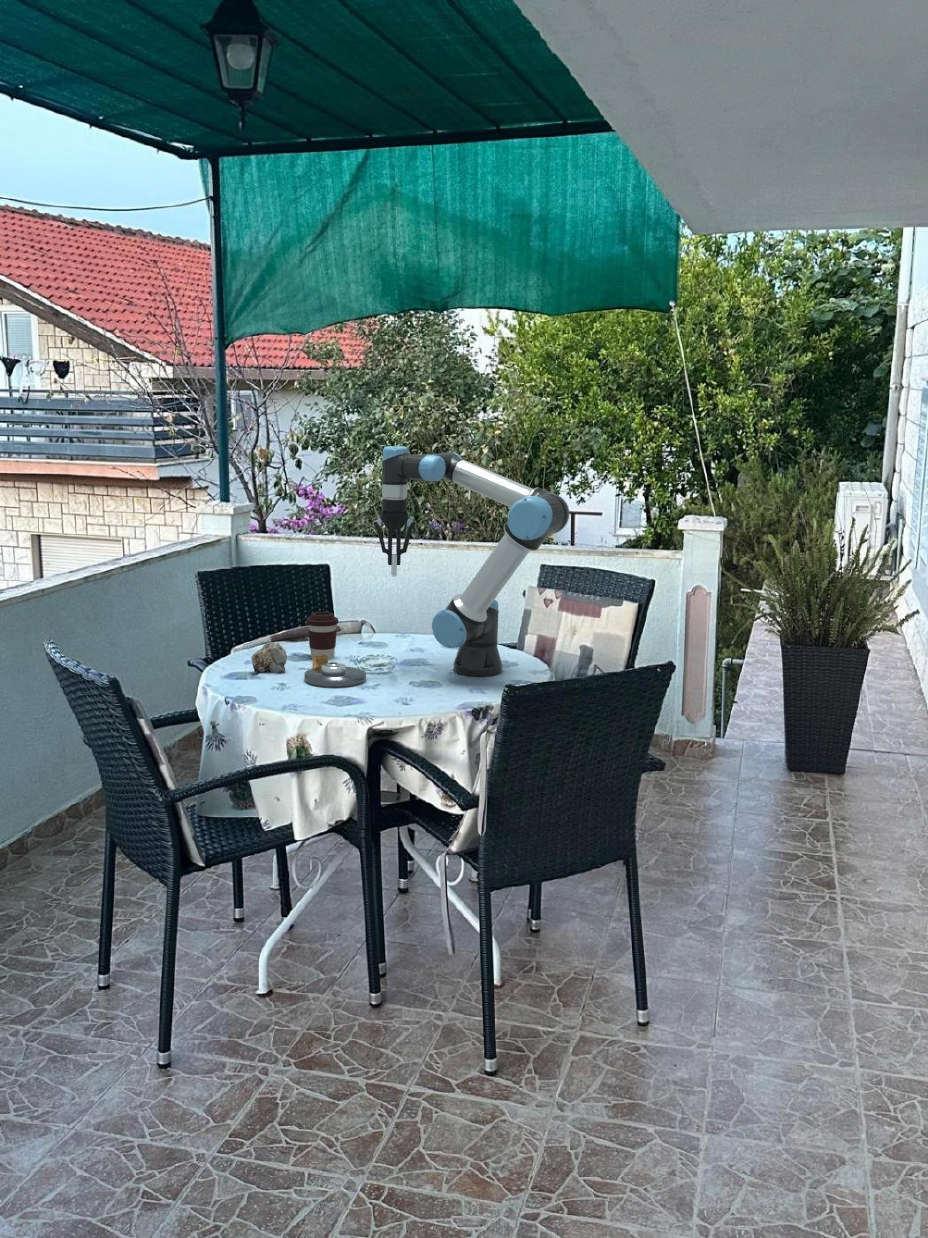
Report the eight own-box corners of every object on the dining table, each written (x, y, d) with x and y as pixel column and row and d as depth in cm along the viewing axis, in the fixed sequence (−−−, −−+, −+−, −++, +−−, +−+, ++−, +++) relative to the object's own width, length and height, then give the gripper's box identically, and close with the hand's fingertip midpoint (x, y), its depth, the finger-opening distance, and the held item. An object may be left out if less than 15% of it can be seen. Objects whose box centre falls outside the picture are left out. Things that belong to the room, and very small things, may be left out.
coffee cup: (332, 664, 364) (332, 617, 361) (302, 662, 366) (302, 615, 363) (342, 657, 374) (342, 611, 371) (312, 655, 375) (312, 609, 372)
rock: (268, 677, 358) (246, 654, 355) (297, 654, 356) (275, 631, 353) (267, 688, 349) (244, 664, 346) (296, 665, 348) (274, 641, 345)
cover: (338, 669, 346) (338, 659, 345) (349, 674, 340) (349, 664, 340) (317, 672, 342) (317, 662, 342) (328, 677, 336) (328, 667, 336)
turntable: (345, 668, 356) (345, 652, 355) (376, 683, 339) (376, 666, 338) (290, 674, 347) (290, 658, 346) (320, 690, 330) (320, 673, 329)
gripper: (415, 497, 354) (414, 573, 358) (372, 496, 352) (372, 573, 357) (417, 499, 346) (416, 577, 351) (373, 499, 345) (373, 577, 350)
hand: (394, 575), depth 354 cm, fingers closed
